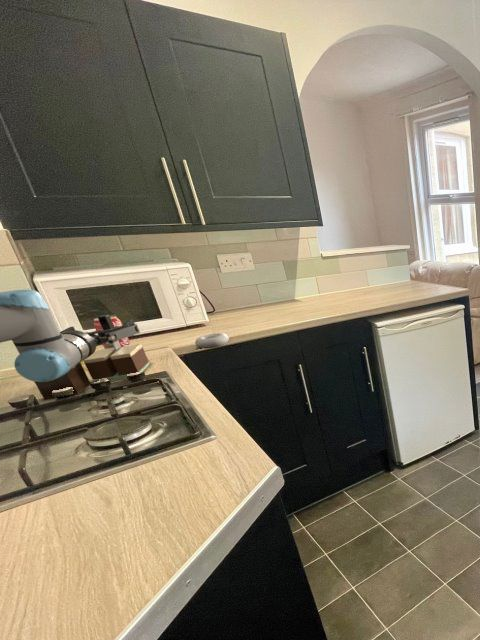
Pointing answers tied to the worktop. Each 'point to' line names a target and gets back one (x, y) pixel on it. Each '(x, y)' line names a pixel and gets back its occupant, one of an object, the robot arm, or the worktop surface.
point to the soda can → (116, 324)
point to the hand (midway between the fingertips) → (104, 327)
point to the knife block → (65, 382)
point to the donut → (212, 340)
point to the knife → (106, 325)
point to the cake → (116, 362)
